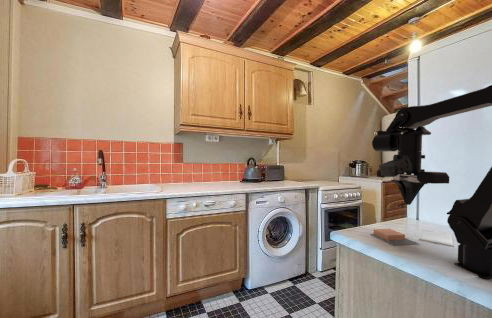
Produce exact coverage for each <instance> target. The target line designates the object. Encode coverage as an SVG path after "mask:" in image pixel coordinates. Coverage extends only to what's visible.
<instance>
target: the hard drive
mask: <svg viewBox="0 0 492 318" xmlns="http://www.w3.org/2000/svg"><path fill="white" fill-rule="evenodd" d="M418 241H419V242H420V241H421V242H424V243H429V244H435V245H440V246H445V247H450V248H455V243H454V236H453V234H452V233H447V232H442V231H435V230H429V229H424V228H421V230H420V234H419V236H418Z"/></svg>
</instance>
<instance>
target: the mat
mask: <svg viewBox="0 0 492 318" xmlns="http://www.w3.org/2000/svg"><path fill="white" fill-rule="evenodd" d="M369 235H370V236H373V237H374V238H376V239H378V240H380V241H383V242H384V243H387V244H388V245H390V246H393V247H401V246H402V247H403V246H404V247H405V246H414V245H415V246H418V245H420V246H421V244H420V243H419V242H416V241H414V240H411V239H409V238H406V237H405V240H392V241H387V240H385V239H383V238H381V237H379V236H377V235H375V234H374V233H369Z"/></svg>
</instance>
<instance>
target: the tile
mask: <svg viewBox="0 0 492 318" xmlns="http://www.w3.org/2000/svg"><path fill="white" fill-rule="evenodd" d="M373 234H375V235H377V236H379V237H381V238H383V239H385V240H387V241H392V240H405V238H406V234H405V233H402V232H399V231H397V230H394V229H392V228H374V229H373Z"/></svg>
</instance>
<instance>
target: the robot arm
mask: <svg viewBox="0 0 492 318" xmlns="http://www.w3.org/2000/svg"><path fill="white" fill-rule="evenodd" d="M488 107H492V84H490V85H488V86H486V87H484V88H481V89H477V90H473V91H470V92H467V93H464V94H461V95H457V96H454V97H451V98H447V99H444V100H441V101H437V102H434V103H430V104H424V105H412V106H405V107H401V108H400V109H398V110H397V112H396V113H395V116H394V118H393V119H392V121H391V122H390V124H389V126H388V127H387V128H386V130H377V132H376V134H375V136H374V137H373V138H372V141H371V144H372V149H373V150H374V151H375V152H380V153H381V152H397V154H394V155H393V156H392V160H388V161H385V162H384V163H381V164H379V165H378V167H379V168H378V170H376V177H377V178H389V177H390V178H392V179H390V181H391V182H392V183H395V184H396V185H397V187H398V190H399V192H400V193H401V196H402V199H403V202H404V204H405V205H408V206H410V205H412V203H413V201H414V200H415V199H416V196H417V195H418V194H419V192H420V191H421V189H422V188H423V187H424V186H425V185H428V184H450V176H449V174H448V173H447V172H443V171H425V169H423V168H422V160H423V159H426V155H425V154H422V151H423V149H422V148H423V145H422V144H423V136H430V135H431V134H432V132H431V131H429V130H428V129H427V128H426V126H428V125H430V124H432V123H433V122H436V121H437V120H440V119H443V118H447V117H452V116H455V115H460V114H464V113H468V112H473V111H475V110H480V109H484V108H488ZM446 215H448V217H447V224H448V226H449V228H450V230H451V231H452V232H453V234H454V237H455V239H456V242H457V243H458V245H457V262H454V263H453V265H454V266H457V267H458V268H461V269H463V270H466V271H468V272H470V273H472V274H475V275H477V276H478V277H480V278H482V279H484V280H487V279H488V280H489V279H492V166H491V167H490V168H489V170H488V171H487V173H486V174H485V176H484V177H483V179H482V180H481V182H480V183H479V185H478V187H477V189H476V190H475V191H474V193H473V194H472V196H471V197H469V198H464V199H456V200H454V202H453V205H452V206H451V209H450V210H449V211H447V212H446Z"/></svg>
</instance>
